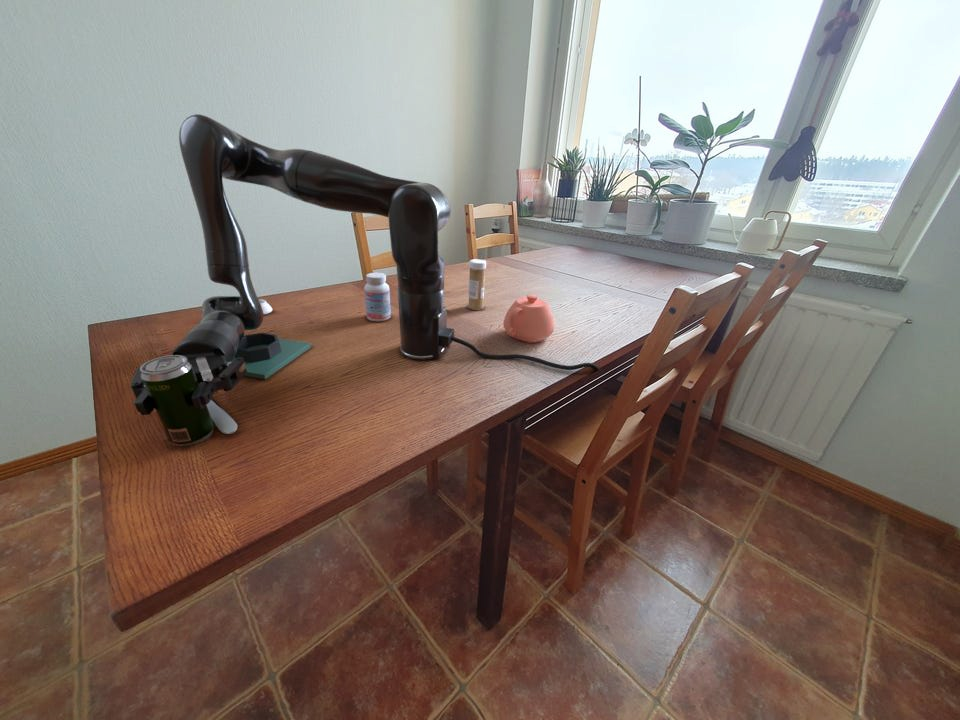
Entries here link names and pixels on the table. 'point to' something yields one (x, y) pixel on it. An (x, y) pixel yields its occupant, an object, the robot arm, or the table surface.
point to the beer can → (176, 399)
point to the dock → (277, 360)
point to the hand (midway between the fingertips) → (170, 406)
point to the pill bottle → (377, 297)
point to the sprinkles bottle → (476, 284)
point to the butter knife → (221, 419)
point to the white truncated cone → (265, 307)
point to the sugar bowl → (529, 319)
